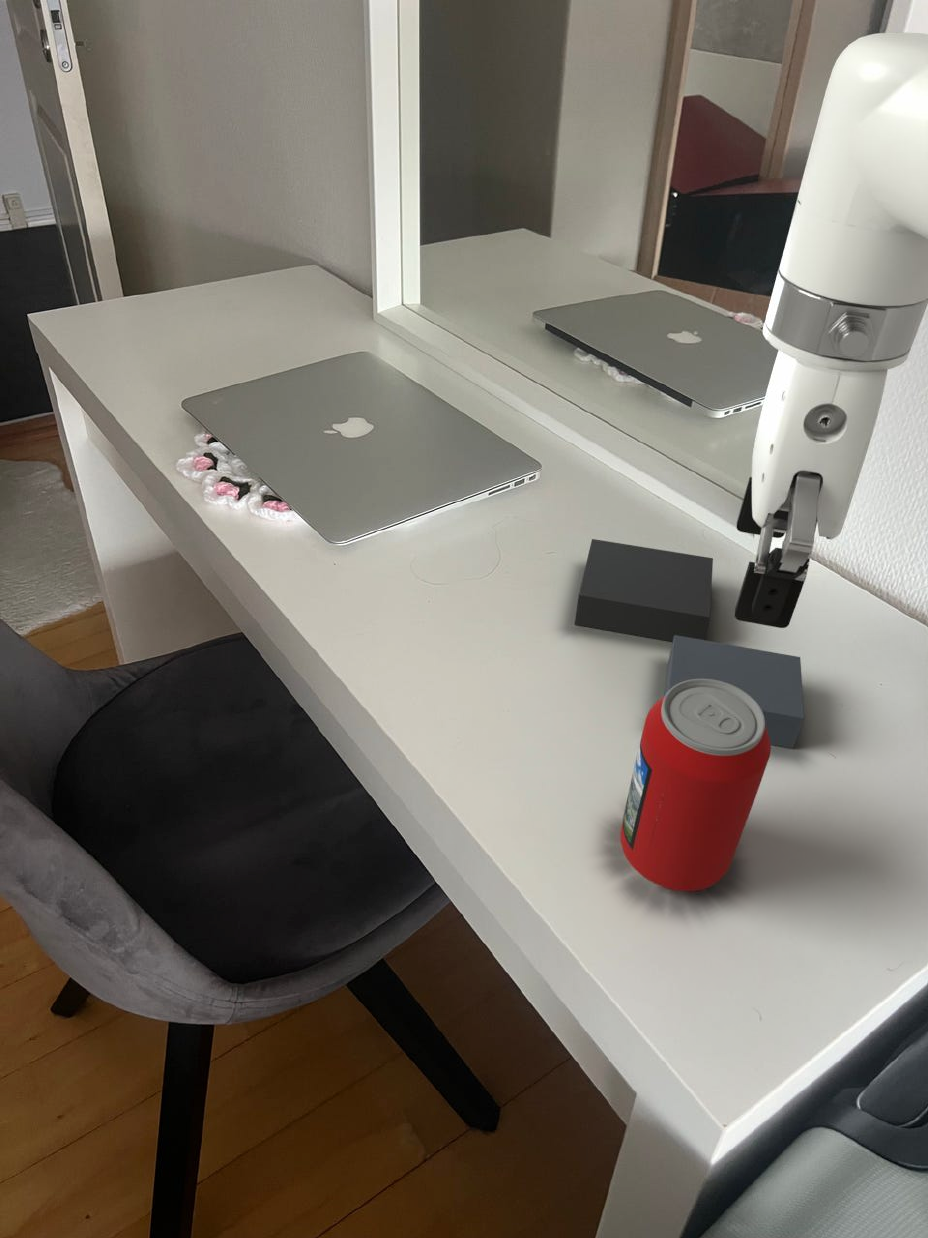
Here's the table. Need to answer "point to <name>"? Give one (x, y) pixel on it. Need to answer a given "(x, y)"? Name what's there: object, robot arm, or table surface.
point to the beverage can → (694, 783)
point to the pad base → (645, 591)
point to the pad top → (746, 680)
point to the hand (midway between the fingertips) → (759, 574)
